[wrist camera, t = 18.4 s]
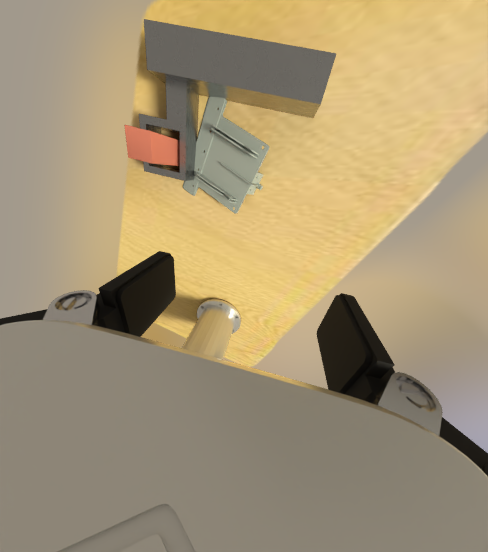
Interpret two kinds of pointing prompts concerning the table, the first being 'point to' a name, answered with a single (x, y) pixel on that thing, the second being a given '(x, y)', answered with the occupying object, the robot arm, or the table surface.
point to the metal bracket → (226, 158)
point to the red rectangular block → (152, 147)
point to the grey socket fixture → (226, 80)
